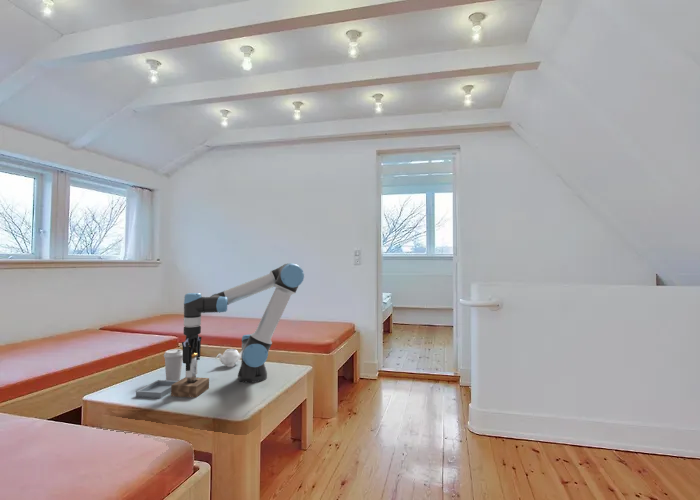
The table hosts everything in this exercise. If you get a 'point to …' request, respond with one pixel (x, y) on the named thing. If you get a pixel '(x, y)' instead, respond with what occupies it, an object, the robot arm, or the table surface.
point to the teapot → (230, 357)
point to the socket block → (189, 387)
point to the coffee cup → (173, 364)
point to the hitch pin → (193, 369)
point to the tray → (156, 389)
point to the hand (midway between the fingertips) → (191, 375)
